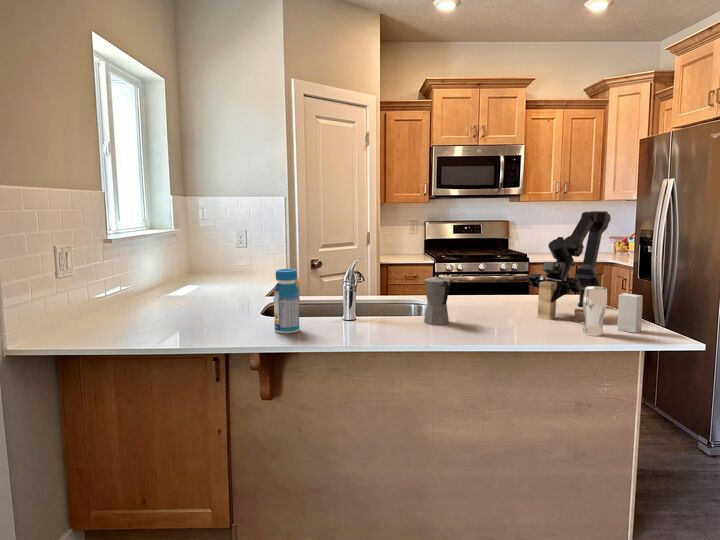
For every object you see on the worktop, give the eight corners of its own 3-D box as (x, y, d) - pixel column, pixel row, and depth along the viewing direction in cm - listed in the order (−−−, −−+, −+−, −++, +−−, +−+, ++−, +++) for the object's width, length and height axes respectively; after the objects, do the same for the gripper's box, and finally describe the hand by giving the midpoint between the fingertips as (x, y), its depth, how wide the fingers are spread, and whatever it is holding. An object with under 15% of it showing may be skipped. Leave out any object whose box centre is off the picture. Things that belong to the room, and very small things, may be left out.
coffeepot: (417, 319, 184) (417, 269, 182) (441, 317, 186) (442, 268, 184) (434, 329, 169) (435, 275, 167) (459, 327, 172) (461, 274, 169)
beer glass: (603, 337, 159) (606, 290, 157) (579, 334, 163) (582, 288, 161) (606, 332, 165) (609, 287, 163) (582, 330, 169) (585, 285, 167)
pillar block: (543, 315, 190) (545, 280, 188) (555, 317, 187) (557, 282, 185) (537, 317, 187) (539, 282, 185) (549, 319, 184) (551, 283, 182)
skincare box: (641, 331, 167) (644, 295, 165) (635, 333, 164) (638, 296, 162) (622, 328, 172) (624, 292, 170) (616, 330, 169) (618, 294, 167)
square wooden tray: (574, 316, 188) (575, 308, 188) (601, 319, 185) (601, 310, 184) (574, 322, 180) (574, 313, 180) (602, 324, 177) (603, 315, 176)
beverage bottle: (289, 335, 161) (288, 272, 158) (268, 331, 165) (267, 270, 162) (305, 329, 168) (304, 269, 165) (284, 326, 172) (283, 267, 169)
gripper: (531, 251, 193) (514, 283, 187) (580, 255, 180) (563, 290, 174) (541, 270, 200) (525, 301, 194) (588, 275, 186) (572, 309, 180)
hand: (545, 300), depth 185 cm, fingers closed on pillar block, 4 cm apart
